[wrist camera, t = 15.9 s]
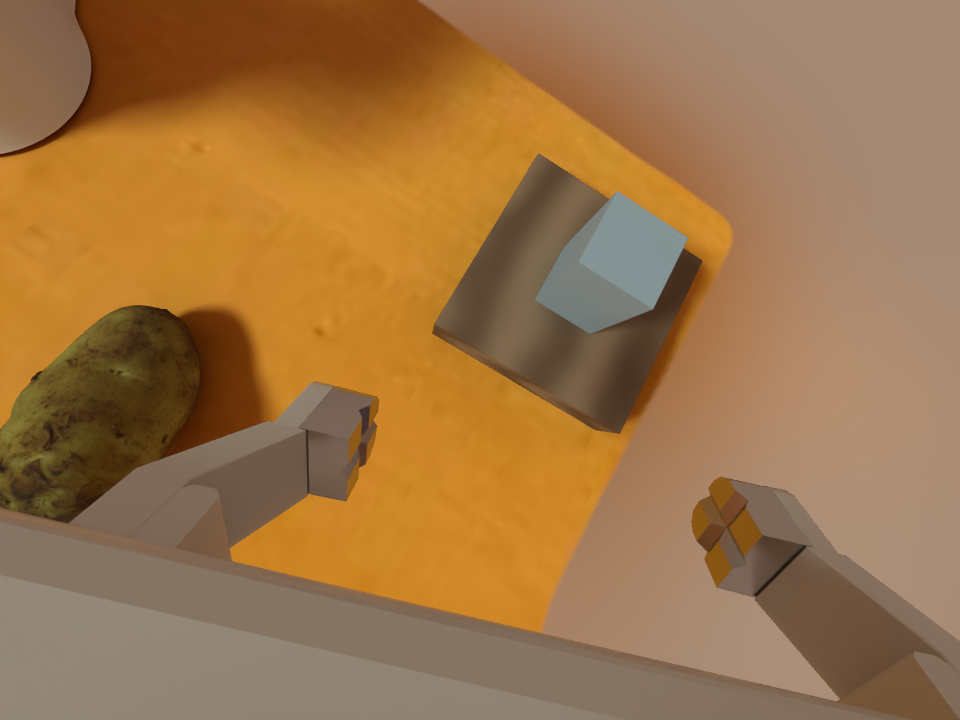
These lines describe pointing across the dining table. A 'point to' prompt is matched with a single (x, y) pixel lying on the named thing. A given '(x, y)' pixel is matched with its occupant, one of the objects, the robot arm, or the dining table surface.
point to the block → (612, 266)
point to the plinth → (538, 330)
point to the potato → (98, 413)
